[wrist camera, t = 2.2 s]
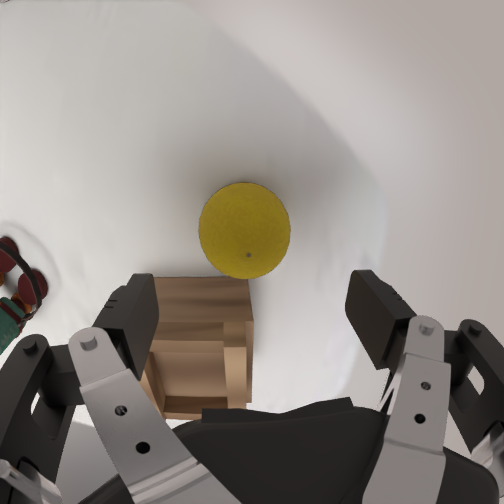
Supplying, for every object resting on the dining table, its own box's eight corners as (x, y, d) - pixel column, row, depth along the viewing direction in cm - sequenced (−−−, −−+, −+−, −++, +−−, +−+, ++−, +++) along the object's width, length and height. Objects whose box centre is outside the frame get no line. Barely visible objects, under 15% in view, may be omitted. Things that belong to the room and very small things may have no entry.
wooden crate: (140, 277, 23) (108, 343, 15) (247, 276, 23) (257, 346, 16) (157, 354, 26) (142, 422, 19) (246, 355, 27) (253, 425, 19)
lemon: (291, 197, 21) (325, 234, 14) (254, 256, 23) (267, 317, 15) (226, 160, 19) (225, 177, 12) (191, 225, 21) (173, 276, 14)
